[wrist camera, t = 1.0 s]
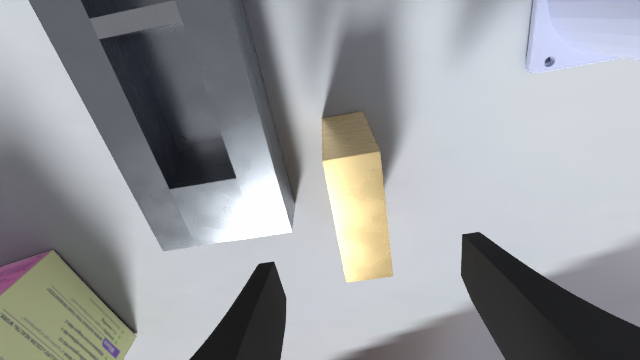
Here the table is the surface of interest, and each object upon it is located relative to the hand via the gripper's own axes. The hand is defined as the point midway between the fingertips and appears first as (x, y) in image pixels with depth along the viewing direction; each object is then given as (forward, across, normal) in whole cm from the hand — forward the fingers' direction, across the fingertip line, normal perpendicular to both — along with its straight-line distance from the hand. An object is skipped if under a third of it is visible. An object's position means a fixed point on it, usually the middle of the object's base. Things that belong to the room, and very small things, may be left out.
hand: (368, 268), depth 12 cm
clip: (+9, 0, 0) cm, 9 cm away
